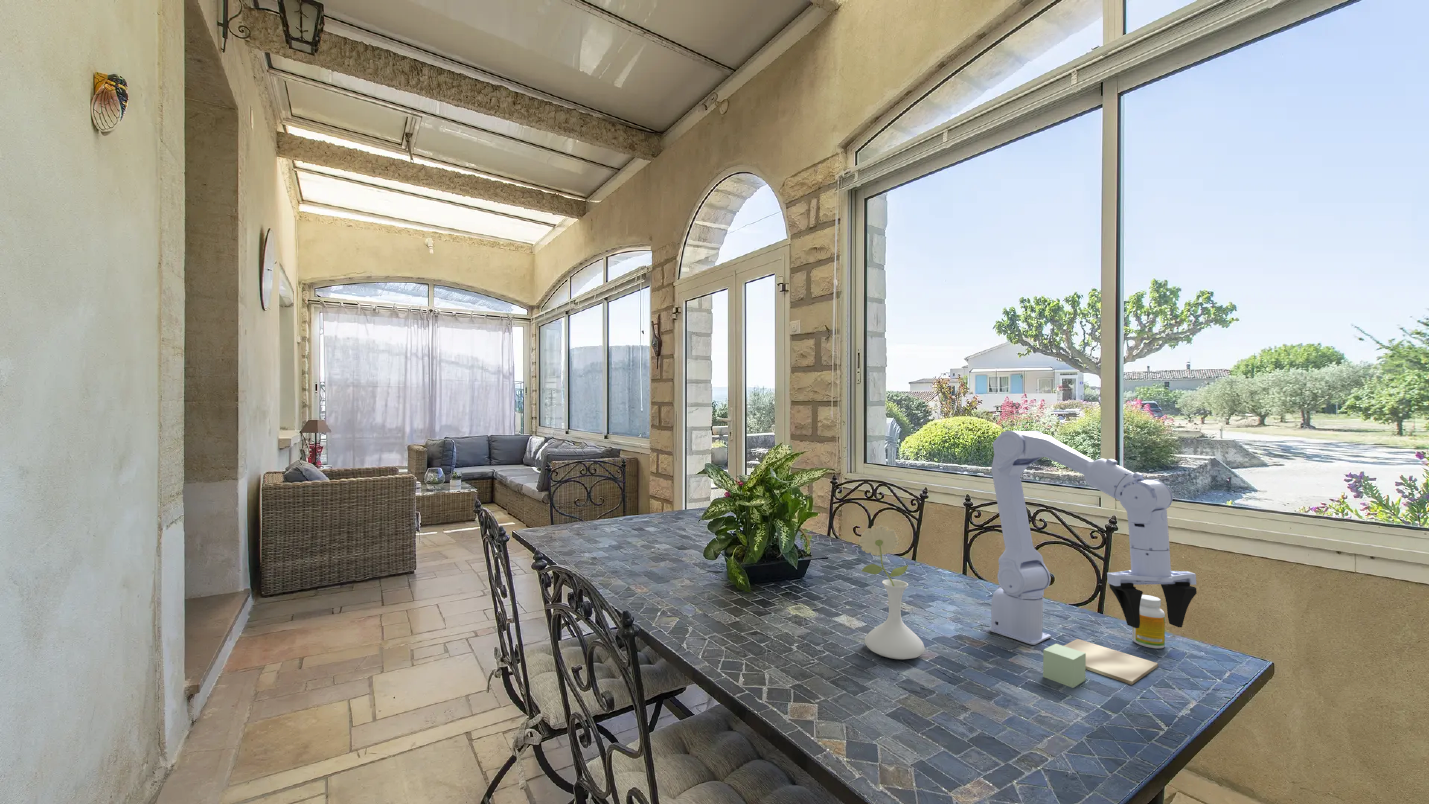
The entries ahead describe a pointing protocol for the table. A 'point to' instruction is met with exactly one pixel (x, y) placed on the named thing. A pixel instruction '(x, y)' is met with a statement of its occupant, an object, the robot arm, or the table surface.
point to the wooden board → (1113, 662)
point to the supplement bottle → (1150, 623)
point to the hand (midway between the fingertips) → (1154, 626)
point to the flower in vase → (893, 633)
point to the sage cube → (1064, 665)
